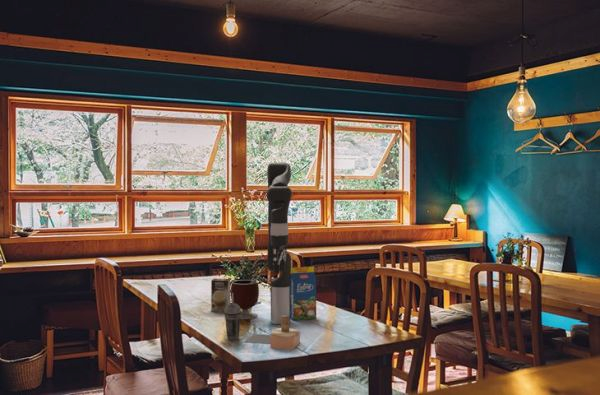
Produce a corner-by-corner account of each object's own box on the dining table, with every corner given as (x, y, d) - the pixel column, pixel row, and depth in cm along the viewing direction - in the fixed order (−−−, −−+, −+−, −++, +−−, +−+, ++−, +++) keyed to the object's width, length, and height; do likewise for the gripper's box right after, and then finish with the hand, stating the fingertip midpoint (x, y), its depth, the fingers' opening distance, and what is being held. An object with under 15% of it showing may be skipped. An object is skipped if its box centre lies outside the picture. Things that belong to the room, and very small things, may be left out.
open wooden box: (277, 342, 245) (277, 330, 245) (300, 344, 242) (300, 331, 242) (270, 348, 236) (270, 336, 235) (293, 350, 233) (293, 337, 233)
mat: (254, 335, 257) (254, 333, 257) (285, 337, 254) (285, 335, 254) (243, 343, 244) (243, 342, 244) (275, 345, 240) (275, 344, 240)
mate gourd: (225, 317, 292) (225, 277, 291) (240, 312, 304) (240, 273, 303) (252, 321, 284) (251, 279, 284) (267, 315, 297) (266, 275, 296)
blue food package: (316, 318, 289) (316, 267, 289) (293, 320, 285) (293, 268, 284) (311, 316, 295) (311, 265, 294) (288, 318, 291) (288, 267, 290)
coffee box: (210, 311, 306) (210, 280, 306) (213, 308, 313) (213, 278, 313) (228, 311, 306) (227, 280, 305) (230, 309, 312) (230, 278, 312)
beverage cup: (242, 337, 253) (242, 290, 252) (241, 342, 245) (240, 294, 245) (225, 338, 252) (224, 291, 252) (223, 342, 245) (223, 294, 245)
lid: (276, 330, 246) (276, 312, 246) (301, 331, 243) (301, 314, 243) (268, 336, 235) (268, 318, 235) (295, 338, 232) (295, 319, 232)
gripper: (275, 232, 259) (276, 269, 259) (265, 235, 245) (265, 274, 246) (292, 232, 257) (292, 270, 258) (283, 235, 243) (283, 275, 244)
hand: (279, 272), depth 252 cm, fingers open, 8 cm apart
